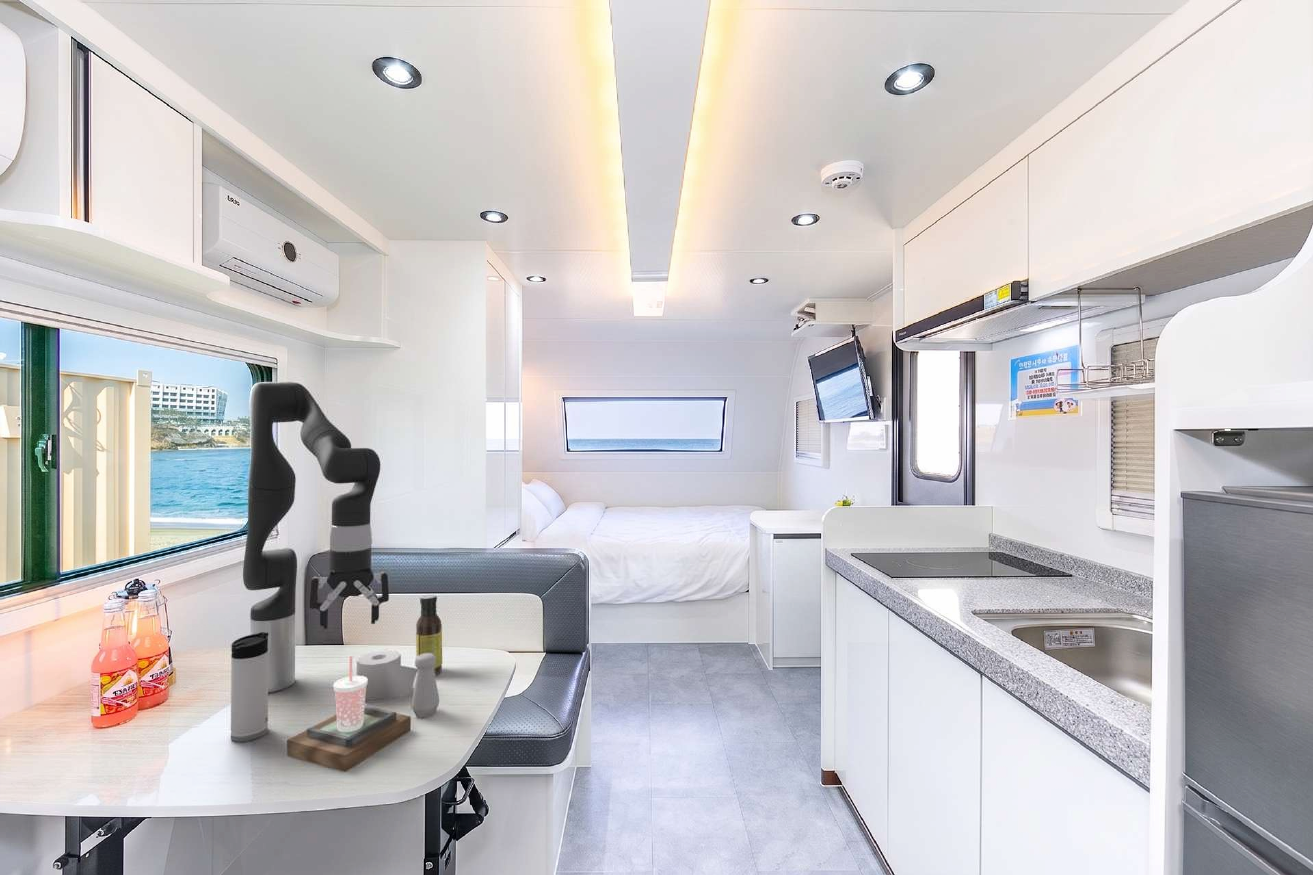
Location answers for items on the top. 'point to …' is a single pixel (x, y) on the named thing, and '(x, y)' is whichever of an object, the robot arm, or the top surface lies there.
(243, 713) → the travel mug
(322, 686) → the top surface
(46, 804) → the top surface
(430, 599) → the sauce bottle
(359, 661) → the toilet tissue
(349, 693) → the beverage cup
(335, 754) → the dock
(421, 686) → the salt shaker
